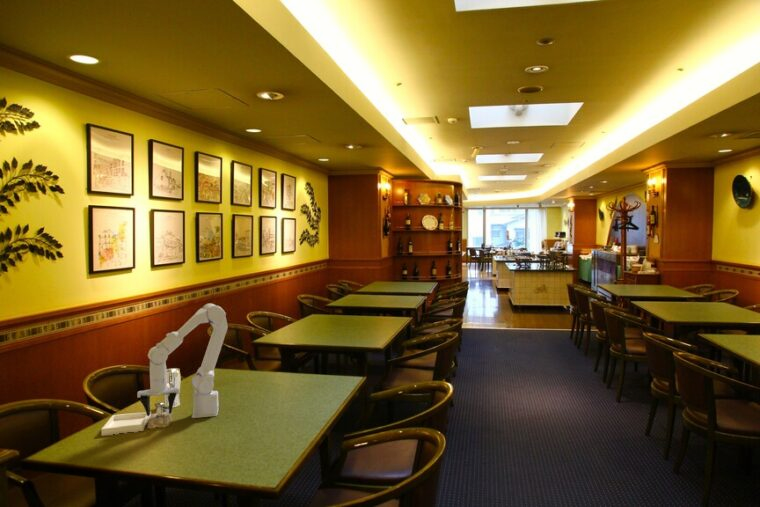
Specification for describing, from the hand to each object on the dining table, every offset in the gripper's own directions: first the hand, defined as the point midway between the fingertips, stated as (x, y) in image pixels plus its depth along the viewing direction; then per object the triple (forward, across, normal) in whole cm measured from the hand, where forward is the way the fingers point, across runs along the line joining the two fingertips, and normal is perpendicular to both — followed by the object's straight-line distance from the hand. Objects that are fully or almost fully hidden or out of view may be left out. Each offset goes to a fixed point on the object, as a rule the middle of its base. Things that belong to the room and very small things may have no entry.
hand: (159, 413), depth 180 cm
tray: (+4, -12, +1) cm, 12 cm away
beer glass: (+4, +1, +20) cm, 20 cm away
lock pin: (+4, 0, 0) cm, 4 cm away
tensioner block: (+4, 0, +3) cm, 5 cm away
